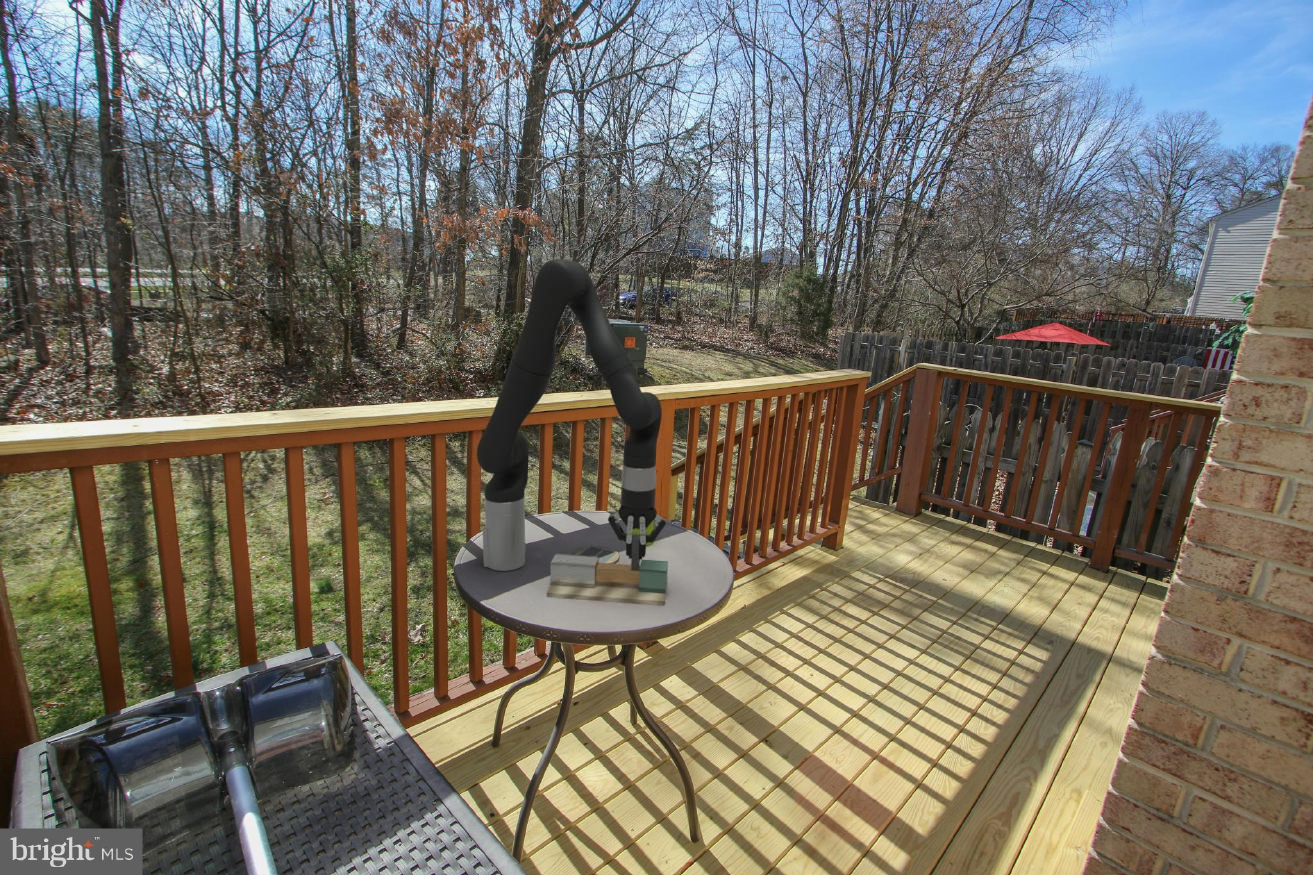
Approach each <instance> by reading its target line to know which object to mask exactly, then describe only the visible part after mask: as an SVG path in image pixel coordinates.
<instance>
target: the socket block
mask: <svg viewBox="0 0 1313 875" xmlns="http://www.w3.org/2000/svg"><path fill="white" fill-rule="evenodd" d="M668 562H669V561H666V560H652V559H642V560H640V569H639V592H649V593H662V594H665V593H666V594H667V589H666V586H667V587H668V581H667V577H668V568H669V566H668V565H669V564H668Z"/></svg>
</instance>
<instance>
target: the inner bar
mask: <svg viewBox="0 0 1313 875" xmlns="http://www.w3.org/2000/svg"><path fill="white" fill-rule="evenodd" d="M639 544H640V535H639V534H634V535H633V538H632V557H631V559H630V561H631V562H630V564H626V563H613V562H611V563H608V562H597V564H596V567H595V580H597V581H611V582H625V583H639V569H640V565H641V560H640V559H639Z"/></svg>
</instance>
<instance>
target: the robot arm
mask: <svg viewBox="0 0 1313 875" xmlns="http://www.w3.org/2000/svg"><path fill="white" fill-rule="evenodd" d="M534 281H535V282H534V285H533V288H532V289H533V290H532V293H531V294H532V295H531V298H530V303H529V307H528V311H527V315H526V319H525V321H524V323H523V324H524V325H523V327H522V330H521V332H520V335H519V339H518V341H517V344H516V347H515V349H514V352H513V355H512V357H511V361H510V363H509V366H508V369H507V371H506V374H505V379H504V382H503V384H502V386H501V387H502V388H501V390H500V391H499V392H500V393H499V395H498V398H497V401H496V404H495V407H494V410H493V412H492V414H491V416H490V418H489V421H488V422H487V425H486V427H485V429H484V431H483V433H482V435H481V437H480V439H479V441H478V444H477V447H476V459H477V463H478V464H479V467H480V468H481V469H482V470H483V471H484V472H486V474H487V473H488V474H492V477H491V478H490V479H489V481H488V482H487V484H486V485H485V487H484V509H485V510H484V511H485V513H484V514H485V527H484V528H483V530H482V550H483V567H484V568H489V569H490V570H493V571H499V572H507V571H514V570H517V569H520V568H521V567H524V565H525V563H526V516H525V515H526V513H525V512H526V511H525V510H526V509H525V507H526V504H525V503H526V502H525V490H526V488H527V485H528V482H529V457H530V456H529V455H530V454H529V446H528V441H527V440H526V437H525V436H524V434H523V433H522V432H520V428H521V426H522V424H523V423H524V421H525V420H526V418H527V417H528V416H529V414H530V413H531V412H532V410H533V409H534V408H535V406H536V405H537V404H538V403H539V401H540V400H541V398H542V397H543V395H544V394H545V392H546V389H547V387H548V385H549V383H550V380H551V377H552V375H553V371H554V368H555V364H556V335H557V332H558V331H557V330H558V327H559V324H560V322H561V320H562V316H563V314H564V313H565V310H566V309H567V307H569V309H570V310H571V312H572V313H573V314H574V315H575V317H576V318H577V320H578V322H579V324H580V325H581V327H582V330H583V332H584V336H585V338H586V343H587V347H588V350H589V354H590V357H591V359H592V361H593V364H594V365H595V367H596V369H597V371H598V372H599V374H600V375H601V377H602V379H603V381H604V382H605V384H606V385H607V387H608V388H609V391H610V392H609V393H610V395H611V398H612V401H613V404H614V406H615V410H616V411H617V413H618V416H619V417H620V420H621V421H623V423H624V424H625V425H626V426H627V427H629V428H630V429H629V434H628V436H627V438H626V440H625V442H624V445H623V460H622V461H623V462H622V463H623V464H622V472H621V487H620V488H621V489H620V490H621V491H620V494H621V495H620V507H619V509H618V511H617V512H614V513H613V512H612V513H609V515H608V518H607V522H608V523H609V526H611V528H612V530H613V532H614V533H615V535H616V537H617V539H618V540H619V541H622V542H625V543H626V544H625V545H626V546H625V556H626V557H628V559H630V560H631V557H632V538H633V530H634V529H636V528H637V529H640V544H639V559H640V561H642V560H643V558H645V556H646V552H647V547H646V544H647V543H649V542H650V543H652V542H653V543H654V541H655V540H656V538H658V536H659V534H660V533H661V532H662V530H663V529H664V527H665V526H666V524H667V518H666V517H665V516H660V515H659V514H658V512H657V510H656V488H657V471H656V470H657V469H656V466H657V464H656V460H657V442H658V438H659V433H660V428H661V424H662V417H663V416H662V414H663V409H662V404H661V401H660V398H658V397H657V396H656V394H654V393H653V392H647V391H644V392H643V391H642V390H641V388H640V386H639V383H638V381H637V380H638V377H639V373H638V370H637V369H636V367H635V365H634V363H633V361H632V359H631V358H630V356H629V355H628V353H627V351H626V350H625V348H624V346H623V345H622V343H621V340H620V339H619V338H618V336H617V334H616V333H615V331H614V328H613V326H612V324H611V323H610V320H609V318H608V317H607V314H606V312H605V309H604V307H603V305H602V303H601V301H600V298H599V296H598V293H597V291H596V288H595V285H594V283H593V280H592V278H591V276H590V273H589V272H588V270H587V268H585V266H584V265H583V264H581V263H580V262H577V261H576V260H571V259H570V260H568V259H560V258H559V259H558V258H557V259H550V260H547V261H546V262H545V263H543V264H542V266H541V267H540V269H539V270H538V273H537V275H536V278H535V280H534ZM620 520H622V522H623V523H624V525H625V526H626V527H627V528H626V532H625V530H624V529H623V527H622V525H621V523H620ZM653 520H654V526H655V527H654V529H653V531H652V532H651V534H650V535H647V527H648V526H649V525H650V524H651V522H652V521H653Z"/></svg>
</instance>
